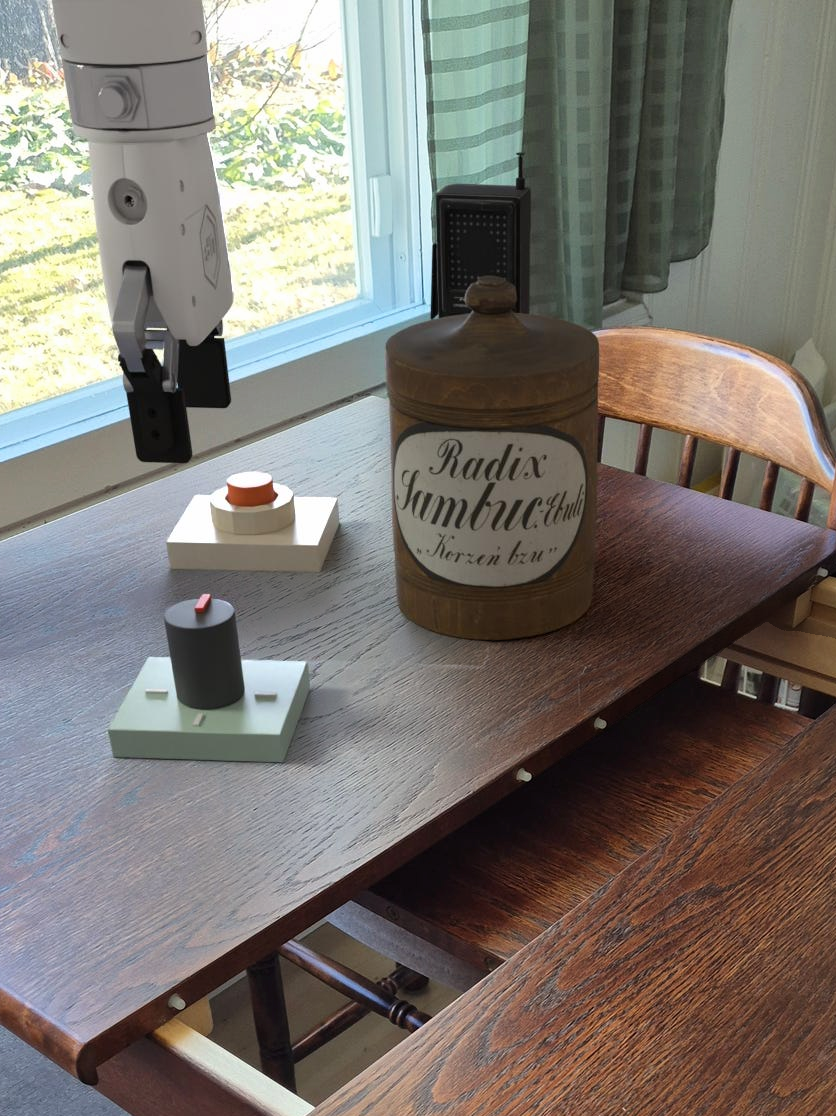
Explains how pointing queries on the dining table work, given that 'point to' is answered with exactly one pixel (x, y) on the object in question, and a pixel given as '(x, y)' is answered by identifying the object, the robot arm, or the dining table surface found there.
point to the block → (254, 533)
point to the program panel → (212, 716)
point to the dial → (204, 652)
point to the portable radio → (480, 242)
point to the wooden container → (493, 468)
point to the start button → (250, 489)
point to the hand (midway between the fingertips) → (186, 432)
